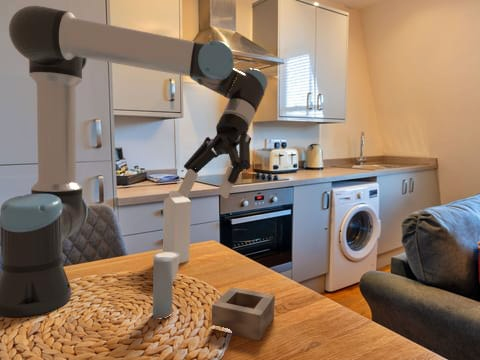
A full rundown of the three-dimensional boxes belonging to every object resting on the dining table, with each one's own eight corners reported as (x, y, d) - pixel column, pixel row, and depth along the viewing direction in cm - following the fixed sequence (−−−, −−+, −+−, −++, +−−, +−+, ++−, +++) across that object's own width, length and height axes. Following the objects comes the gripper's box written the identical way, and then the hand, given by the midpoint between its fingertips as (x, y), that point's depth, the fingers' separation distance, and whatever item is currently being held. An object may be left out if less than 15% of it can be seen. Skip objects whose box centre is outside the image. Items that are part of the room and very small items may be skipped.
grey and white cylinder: (173, 286, 91) (173, 259, 91) (148, 283, 93) (148, 257, 92) (182, 277, 98) (183, 252, 97) (159, 274, 99) (159, 249, 99)
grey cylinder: (148, 317, 75) (149, 261, 74) (159, 309, 79) (160, 256, 78) (165, 321, 74) (166, 264, 72) (175, 312, 77) (176, 258, 76)
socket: (211, 329, 71) (212, 305, 70) (230, 308, 80) (231, 287, 80) (259, 340, 67) (260, 315, 67) (273, 317, 77) (274, 295, 76)
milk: (162, 260, 111) (163, 190, 109) (178, 256, 116) (179, 188, 114) (174, 265, 107) (175, 192, 105) (190, 261, 112) (191, 191, 110)
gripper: (283, 125, 83) (252, 204, 74) (210, 136, 100) (178, 202, 91) (266, 103, 79) (230, 185, 70) (193, 119, 96) (157, 186, 87)
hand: (201, 195), depth 81 cm, fingers open, 13 cm apart
